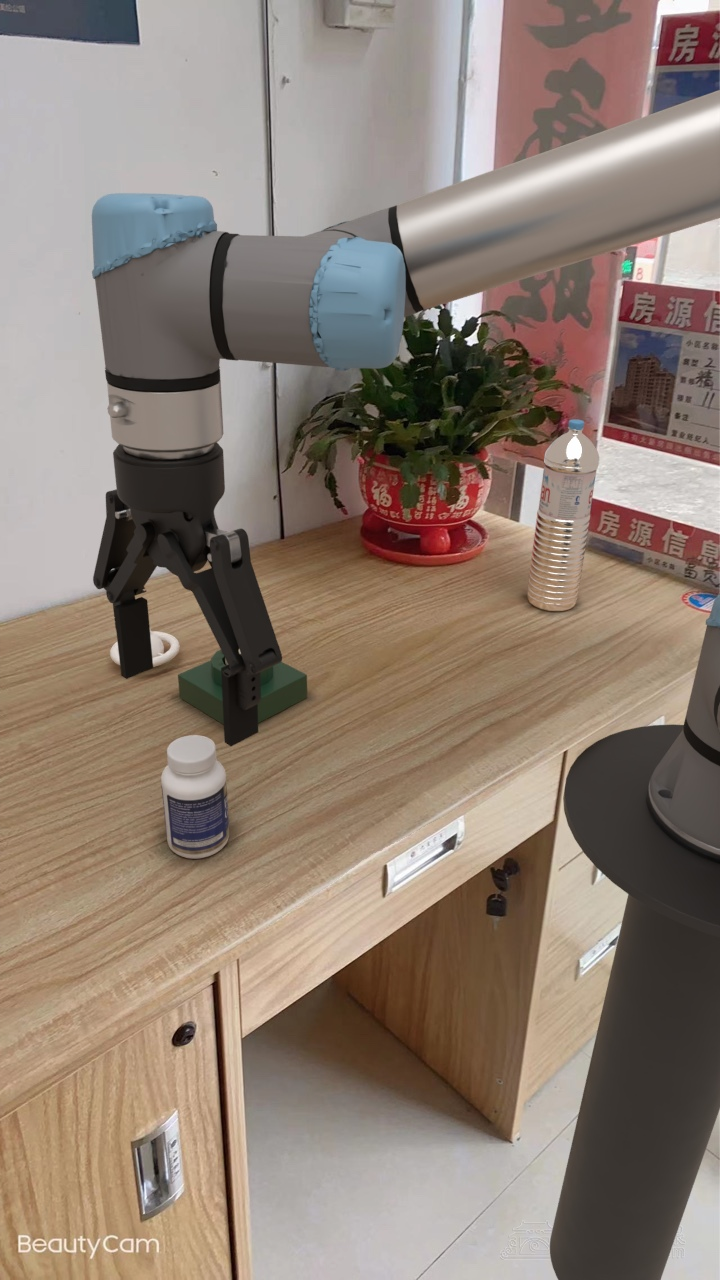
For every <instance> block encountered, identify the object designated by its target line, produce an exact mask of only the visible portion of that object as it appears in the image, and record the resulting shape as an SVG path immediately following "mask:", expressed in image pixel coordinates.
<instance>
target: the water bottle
mask: <svg viewBox="0 0 720 1280" xmlns="http://www.w3.org/2000/svg"><path fill="white" fill-rule="evenodd" d="M567 428H568V431H567V432H565V433H563V434H562V435H560V436H558V437H557V438H556V439H554V441H552V443H550V445H548V447H547V448H546V449H545V451H544V458H543V473H542V481H541V488H540V494H539V502H538V509H537V512H536V518H535V519H536V520H535V530H534V537H533V543H532V552H531V561H530V568H529V574H528V581H527V582H528V584H527V592H526V593H527V595H526V596H527V599H528V602H529V604H531V605H532V606H533V607H535V608H537V609H540V610H543V611H547V612H565V611H569V610H571V609H573V608H574V607H575V606H576V605H577V604H576V603H577V601H578V597H579V591H580V585H581V578H582V572H583V565H584V559H585V553H586V546H587V541H588V540H587V539H588V535H589V534H588V533H589V527H590V520H591V511H592V510H591V509H592V502H593V496H594V491H595V490H594V489H595V485H596V484H595V483H596V476H597V470H598V469H599V465H600V464H599V463H600V454H599V452H598V450H597V448H596V446H595V444H594V443H593V442H592V440H591V439H590V438H589V437H588V436H587V435H585V434H584V433H583V430H584V428H585V421H584V420H582V419H575V418H574V419H569V421H568V427H567Z"/></svg>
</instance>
